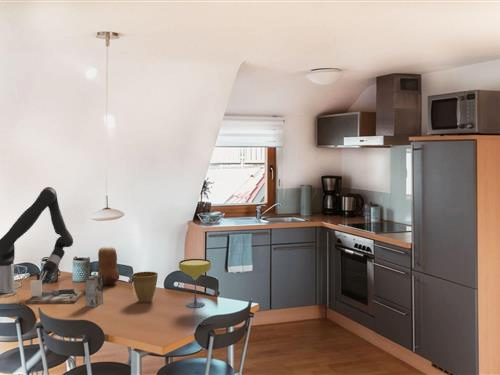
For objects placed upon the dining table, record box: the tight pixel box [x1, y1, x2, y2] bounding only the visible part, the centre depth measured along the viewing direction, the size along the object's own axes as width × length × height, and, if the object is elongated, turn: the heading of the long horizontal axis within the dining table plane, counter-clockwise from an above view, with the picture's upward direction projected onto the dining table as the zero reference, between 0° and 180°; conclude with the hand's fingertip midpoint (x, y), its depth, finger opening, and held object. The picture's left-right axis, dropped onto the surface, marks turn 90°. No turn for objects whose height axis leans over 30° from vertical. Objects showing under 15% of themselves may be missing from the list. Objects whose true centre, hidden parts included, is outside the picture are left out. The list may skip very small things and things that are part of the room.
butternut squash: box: [97, 246, 120, 286], centre depth 357 cm, size 14×13×25 cm
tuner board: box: [25, 290, 85, 305], centre depth 325 cm, size 28×20×3 cm
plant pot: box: [131, 271, 159, 303], centre depth 319 cm, size 15×15×16 cm
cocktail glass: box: [178, 258, 212, 309], centre depth 310 cm, size 18×18×25 cm
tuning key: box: [30, 279, 75, 297], centre depth 324 cm, size 24×4×9 cm, turn 98°
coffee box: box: [84, 274, 104, 308], centre depth 312 cm, size 9×6×16 cm
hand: (38, 287), depth 325 cm, fingers closed
